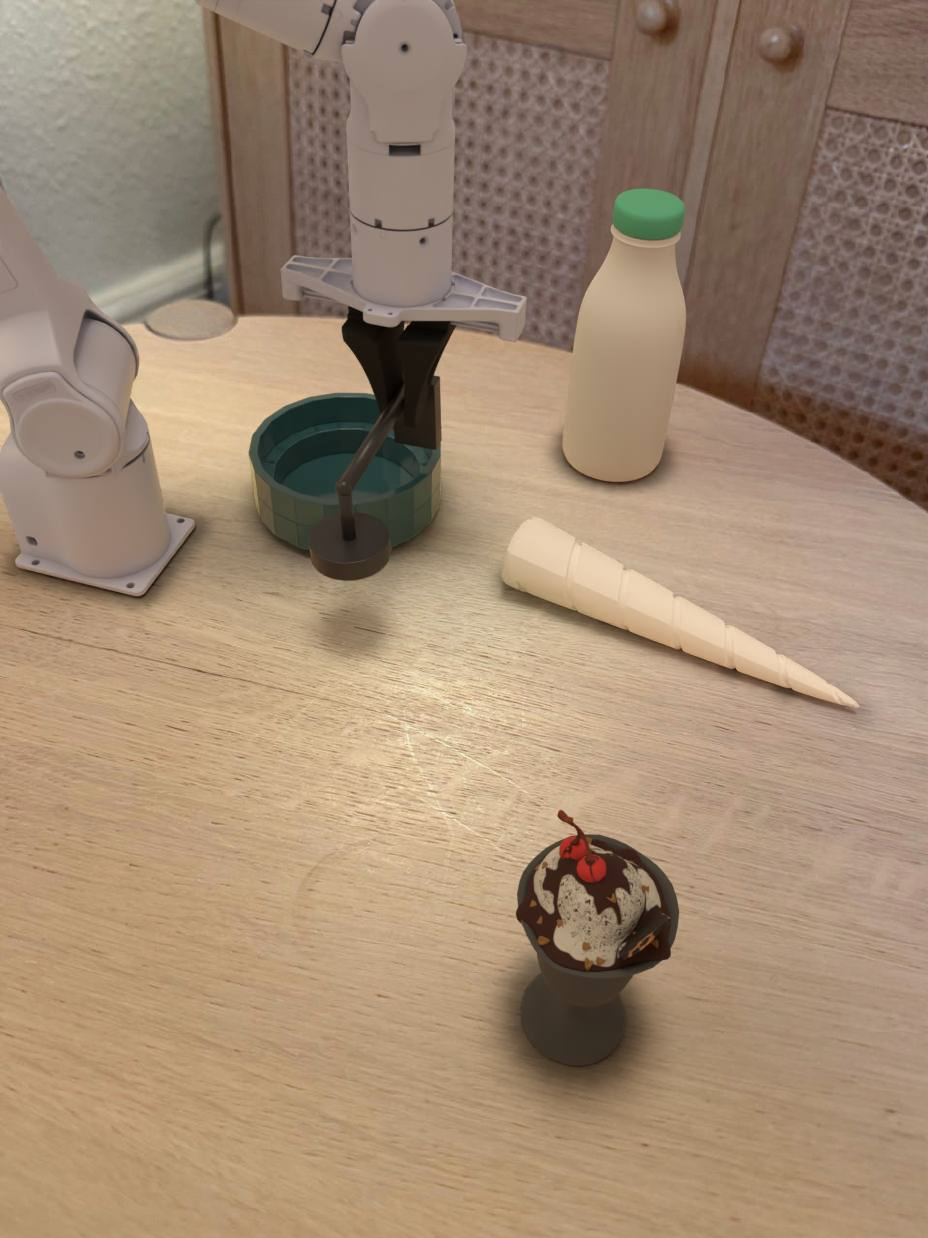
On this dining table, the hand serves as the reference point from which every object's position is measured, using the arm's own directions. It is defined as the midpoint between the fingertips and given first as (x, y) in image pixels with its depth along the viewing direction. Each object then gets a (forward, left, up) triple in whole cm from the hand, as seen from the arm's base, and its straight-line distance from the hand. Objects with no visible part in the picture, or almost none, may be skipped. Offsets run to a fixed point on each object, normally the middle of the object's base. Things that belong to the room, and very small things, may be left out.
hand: (403, 416), depth 69 cm
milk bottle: (+12, +14, -10) cm, 21 cm away
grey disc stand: (0, -5, -3) cm, 6 cm away
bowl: (-5, +2, -10) cm, 11 cm away
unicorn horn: (+19, -4, -10) cm, 22 cm away
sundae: (+19, -31, -10) cm, 38 cm away
